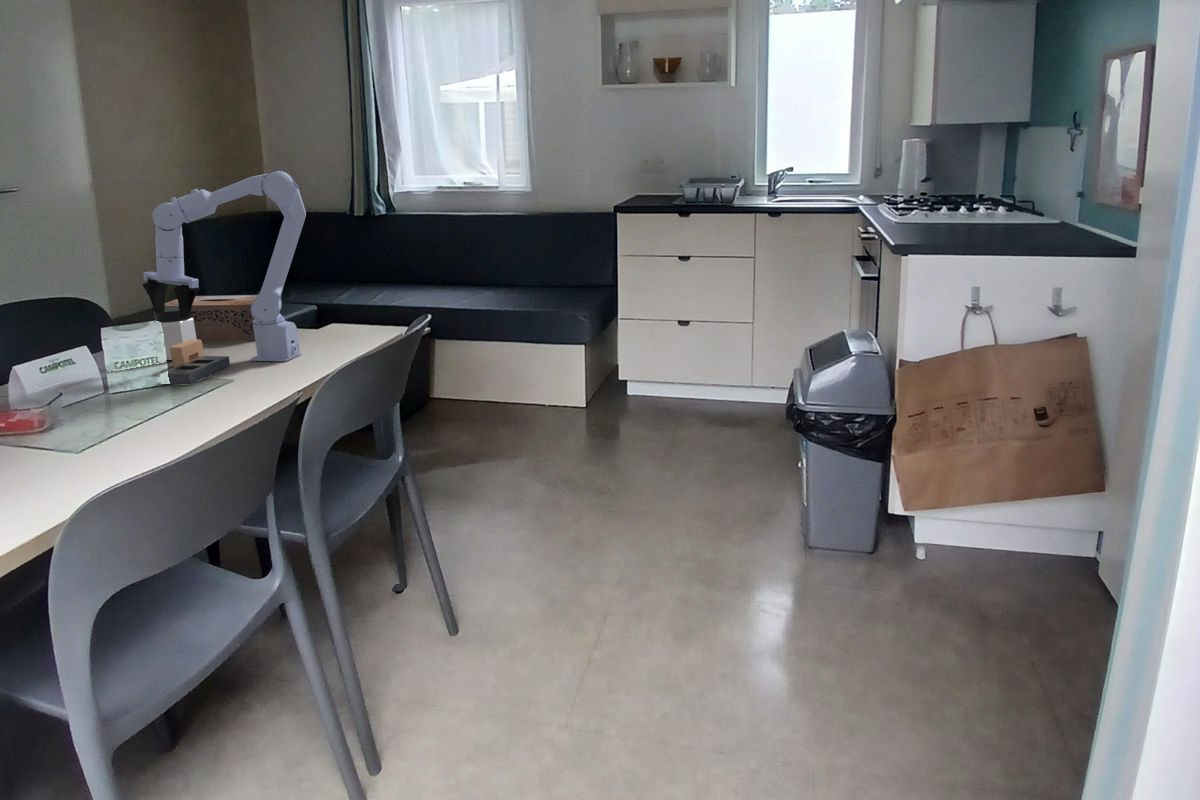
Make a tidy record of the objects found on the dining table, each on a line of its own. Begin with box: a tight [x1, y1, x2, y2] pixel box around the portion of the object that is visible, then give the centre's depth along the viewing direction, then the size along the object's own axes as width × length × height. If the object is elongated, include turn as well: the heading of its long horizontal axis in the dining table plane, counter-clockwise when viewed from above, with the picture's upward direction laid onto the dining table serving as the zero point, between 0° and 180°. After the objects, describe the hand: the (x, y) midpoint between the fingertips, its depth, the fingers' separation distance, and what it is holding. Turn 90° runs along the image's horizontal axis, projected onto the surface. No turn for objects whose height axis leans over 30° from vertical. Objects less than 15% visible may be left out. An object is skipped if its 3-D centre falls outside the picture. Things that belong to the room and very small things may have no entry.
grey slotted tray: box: [167, 355, 231, 385], centre depth 206 cm, size 16×7×2 cm, turn 170°
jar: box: [153, 306, 197, 361], centre depth 223 cm, size 9×8×12 cm
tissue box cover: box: [165, 294, 258, 342], centre depth 247 cm, size 26×14×10 cm, turn 86°
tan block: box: [170, 340, 204, 368], centre depth 214 cm, size 8×3×6 cm, turn 170°
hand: (172, 315), depth 212 cm, fingers open, 7 cm apart
